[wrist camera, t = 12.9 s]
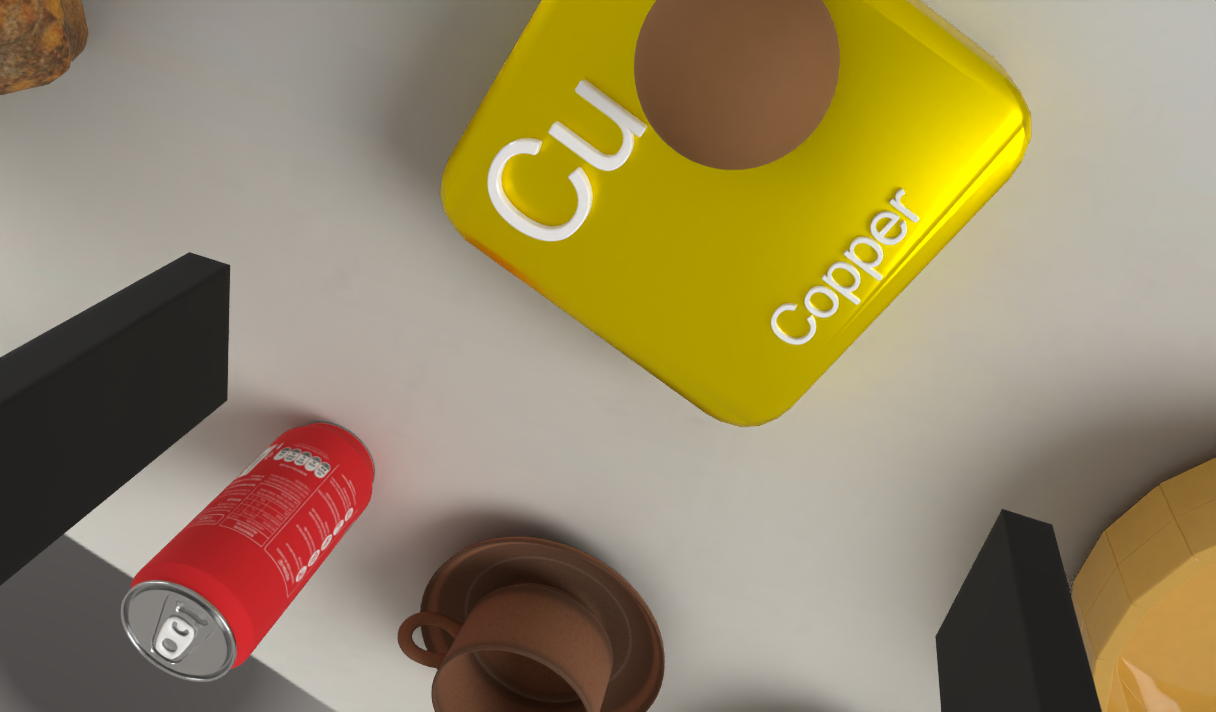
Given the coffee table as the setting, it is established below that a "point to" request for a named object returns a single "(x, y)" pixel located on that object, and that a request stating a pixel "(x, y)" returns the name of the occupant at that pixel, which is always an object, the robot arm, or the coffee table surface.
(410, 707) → the coffee table surface
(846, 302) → the element tile
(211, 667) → the beverage can
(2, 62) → the rough brown rock
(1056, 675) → the robot arm
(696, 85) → the plush bear
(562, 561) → the cup and saucer
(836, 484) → the coffee table surface
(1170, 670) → the ochre bowl
